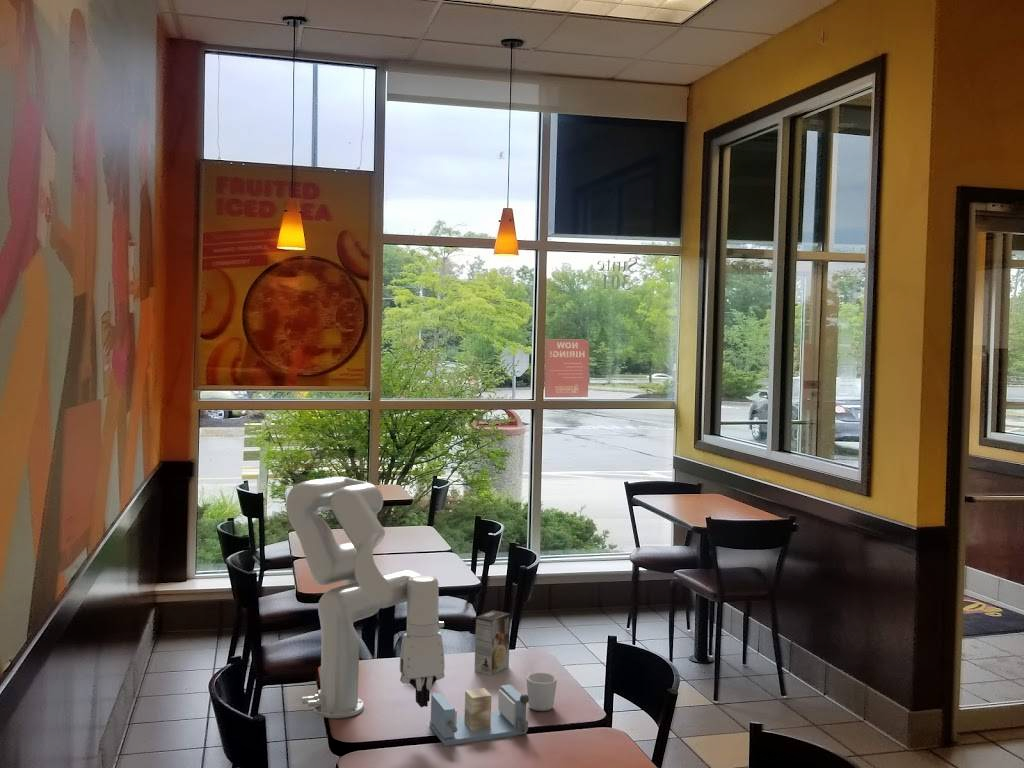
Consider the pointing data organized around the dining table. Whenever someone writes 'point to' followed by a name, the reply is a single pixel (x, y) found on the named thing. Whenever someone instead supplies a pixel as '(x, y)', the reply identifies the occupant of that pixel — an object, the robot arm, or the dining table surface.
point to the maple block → (477, 709)
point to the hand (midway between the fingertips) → (422, 704)
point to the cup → (541, 691)
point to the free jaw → (443, 715)
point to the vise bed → (494, 720)
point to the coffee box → (492, 642)
